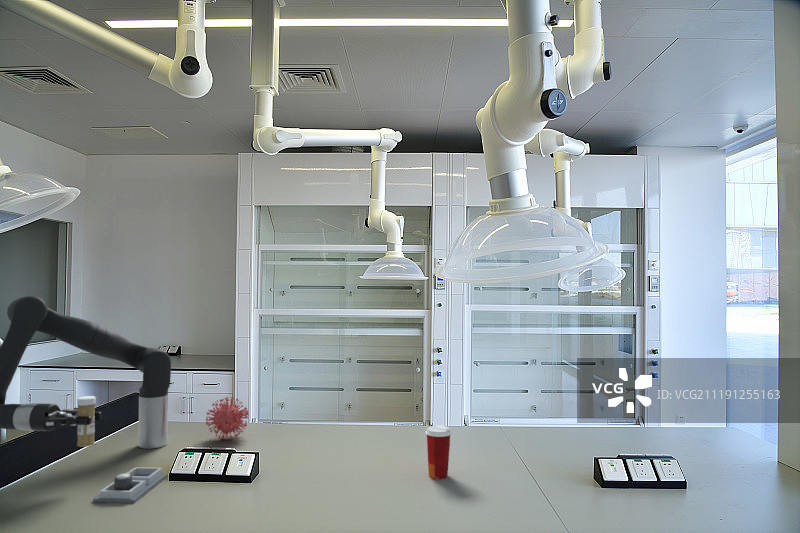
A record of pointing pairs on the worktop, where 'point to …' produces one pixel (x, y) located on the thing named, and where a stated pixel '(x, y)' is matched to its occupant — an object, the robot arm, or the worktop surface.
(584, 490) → the worktop surface
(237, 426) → the virus model
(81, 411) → the sprinkles bottle
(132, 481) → the grey flat tray
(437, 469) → the paper cup
